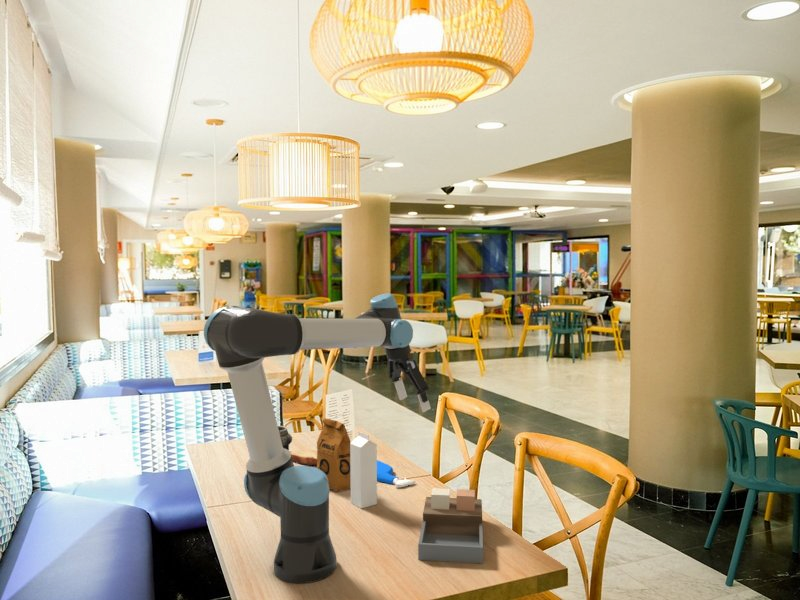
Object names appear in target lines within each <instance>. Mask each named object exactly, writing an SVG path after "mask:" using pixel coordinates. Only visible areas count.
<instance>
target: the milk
mask: <svg viewBox="0 0 800 600" xmlns="http://www.w3.org/2000/svg"><path fill="white" fill-rule="evenodd" d="M350 442H351V443H350V479H351V488H350V504H352V505H354V506H356V507H358V508H359V509H365V508H367V507H371V506H375V505H377V504H378V481H377V460H378V454H377V453H378V451H377V450H378V445H377V443H375V442H373V441H372V440H370V435H368V434H366V433H364V432H361V431H358V432H357V437H355V438H354V439H353V440H351V441H350Z"/></svg>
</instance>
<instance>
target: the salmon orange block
mask: <svg viewBox="0 0 800 600" xmlns="http://www.w3.org/2000/svg"><path fill="white" fill-rule="evenodd" d="M475 492H476V490H475V489H463V488H462V489H460V488H457V489H456V498H457V502H456V510H467V511H475V499H476V497H475V495H476V493H475Z"/></svg>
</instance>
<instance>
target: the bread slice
mask: <svg viewBox="0 0 800 600" xmlns="http://www.w3.org/2000/svg"><path fill="white" fill-rule="evenodd" d="M289 451H290V453H291V456H292V460H293V463H295V462H297V463H296V464H299V465H304V466H311V465H314V466H313V467H317V450H289Z"/></svg>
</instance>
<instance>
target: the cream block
mask: <svg viewBox="0 0 800 600" xmlns="http://www.w3.org/2000/svg"><path fill="white" fill-rule="evenodd" d="M430 497H431V509H445V510H449V507H450V498H451V489H450V488H439V487H438V488H437V487H434V488H431V495H430Z"/></svg>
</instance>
